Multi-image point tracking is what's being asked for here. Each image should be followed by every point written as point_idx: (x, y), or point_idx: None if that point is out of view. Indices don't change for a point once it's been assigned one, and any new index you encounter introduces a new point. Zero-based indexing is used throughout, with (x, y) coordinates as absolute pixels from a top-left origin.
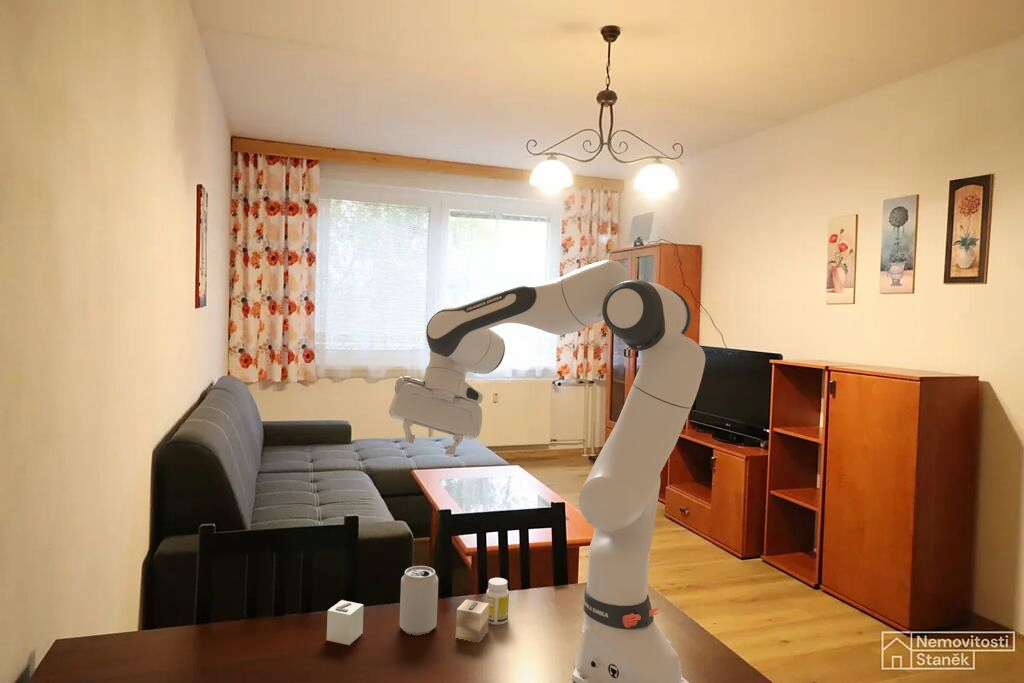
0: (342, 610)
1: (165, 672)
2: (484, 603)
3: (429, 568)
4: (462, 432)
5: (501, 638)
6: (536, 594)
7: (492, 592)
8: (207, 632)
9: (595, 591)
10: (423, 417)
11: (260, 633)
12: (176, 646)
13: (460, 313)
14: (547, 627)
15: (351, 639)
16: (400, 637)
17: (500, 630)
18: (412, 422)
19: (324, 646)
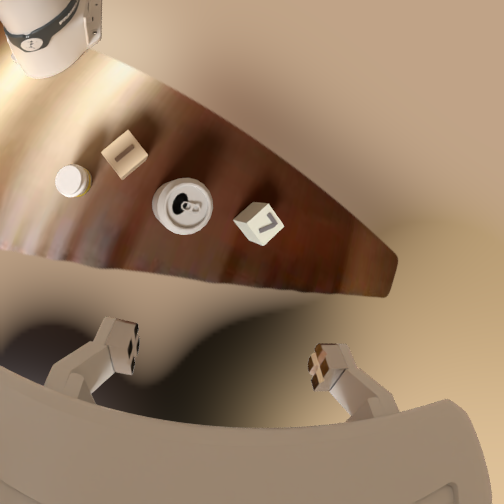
0: (272, 216)
1: (365, 228)
2: (106, 154)
3: (167, 214)
4: (46, 393)
5: (99, 136)
6: (6, 231)
7: (82, 174)
8: (336, 279)
9: None
10: (353, 445)
11: (309, 261)
12: (354, 264)
13: None
14: (41, 140)
15: (251, 205)
16: None
17: (89, 155)
18: (374, 411)
19: None
